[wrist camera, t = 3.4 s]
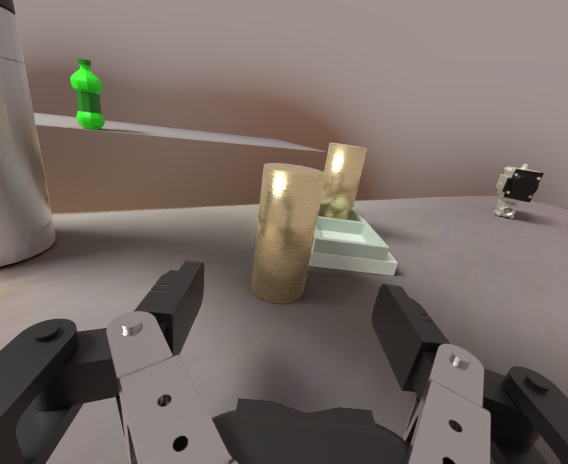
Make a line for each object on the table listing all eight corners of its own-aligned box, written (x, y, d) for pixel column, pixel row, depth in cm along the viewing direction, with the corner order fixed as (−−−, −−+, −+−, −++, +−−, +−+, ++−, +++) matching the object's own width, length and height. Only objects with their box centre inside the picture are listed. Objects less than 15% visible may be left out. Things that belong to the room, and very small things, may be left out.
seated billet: (317, 226, 35) (333, 144, 31) (313, 215, 39) (327, 141, 35) (352, 230, 35) (372, 149, 31) (344, 219, 39) (361, 146, 35)
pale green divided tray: (297, 264, 28) (302, 237, 26) (292, 219, 41) (295, 199, 40) (393, 275, 28) (402, 249, 27) (358, 227, 41) (362, 208, 40)
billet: (248, 300, 21) (261, 169, 17) (253, 271, 25) (265, 160, 22) (305, 306, 21) (331, 179, 18) (301, 276, 26) (321, 168, 22)
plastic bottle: (72, 126, 113) (62, 56, 104) (101, 128, 121) (94, 63, 112) (81, 129, 108) (72, 55, 99) (111, 131, 116) (104, 63, 107)
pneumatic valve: (508, 213, 68) (530, 164, 64) (521, 224, 59) (549, 168, 54) (482, 207, 71) (502, 160, 66) (491, 217, 61) (515, 163, 56)
